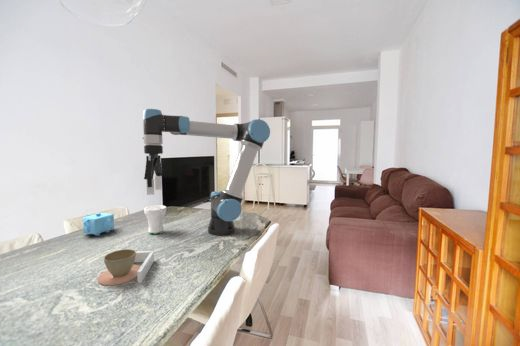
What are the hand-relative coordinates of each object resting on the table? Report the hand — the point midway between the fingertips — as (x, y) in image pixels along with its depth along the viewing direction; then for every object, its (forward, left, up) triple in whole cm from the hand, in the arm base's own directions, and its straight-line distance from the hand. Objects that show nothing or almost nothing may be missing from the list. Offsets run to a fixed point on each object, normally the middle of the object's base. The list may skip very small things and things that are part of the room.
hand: (154, 191), depth 105 cm
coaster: (+7, +22, -27) cm, 35 cm away
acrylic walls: (+6, +20, -27) cm, 34 cm away
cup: (+6, -23, -27) cm, 36 cm away
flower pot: (+7, +22, -26) cm, 35 cm away
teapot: (+37, -28, -27) cm, 54 cm away
